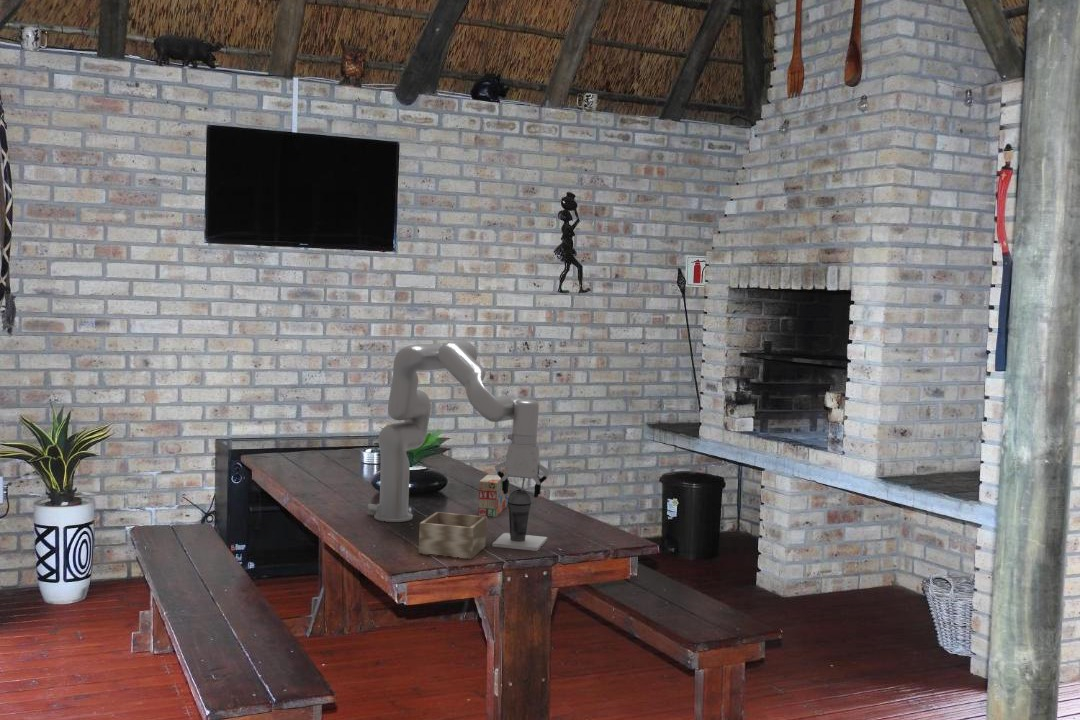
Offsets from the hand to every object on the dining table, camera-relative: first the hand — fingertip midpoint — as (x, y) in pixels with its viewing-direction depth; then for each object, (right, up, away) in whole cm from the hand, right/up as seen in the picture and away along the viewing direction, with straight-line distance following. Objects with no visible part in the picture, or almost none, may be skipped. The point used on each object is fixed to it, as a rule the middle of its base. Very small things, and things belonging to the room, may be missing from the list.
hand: (520, 495), depth 332 cm
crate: (-20, -15, -10) cm, 27 cm away
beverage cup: (-1, -14, +1) cm, 14 cm away
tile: (0, -15, +1) cm, 15 cm away
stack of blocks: (-10, -11, +46) cm, 48 cm away
